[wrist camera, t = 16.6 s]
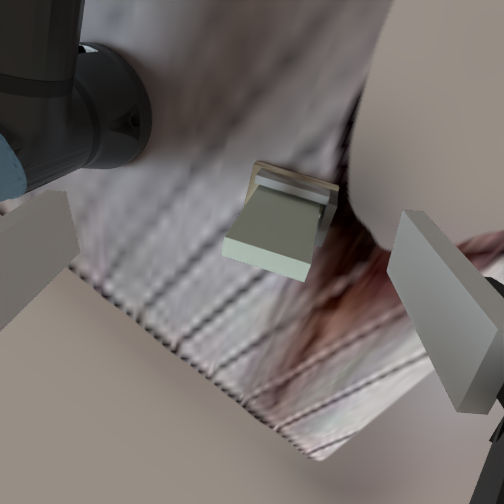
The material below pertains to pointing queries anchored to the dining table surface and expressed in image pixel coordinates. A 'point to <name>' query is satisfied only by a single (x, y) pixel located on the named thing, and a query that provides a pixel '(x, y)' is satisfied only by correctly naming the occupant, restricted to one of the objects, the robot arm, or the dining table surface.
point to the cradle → (298, 192)
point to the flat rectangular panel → (274, 233)
